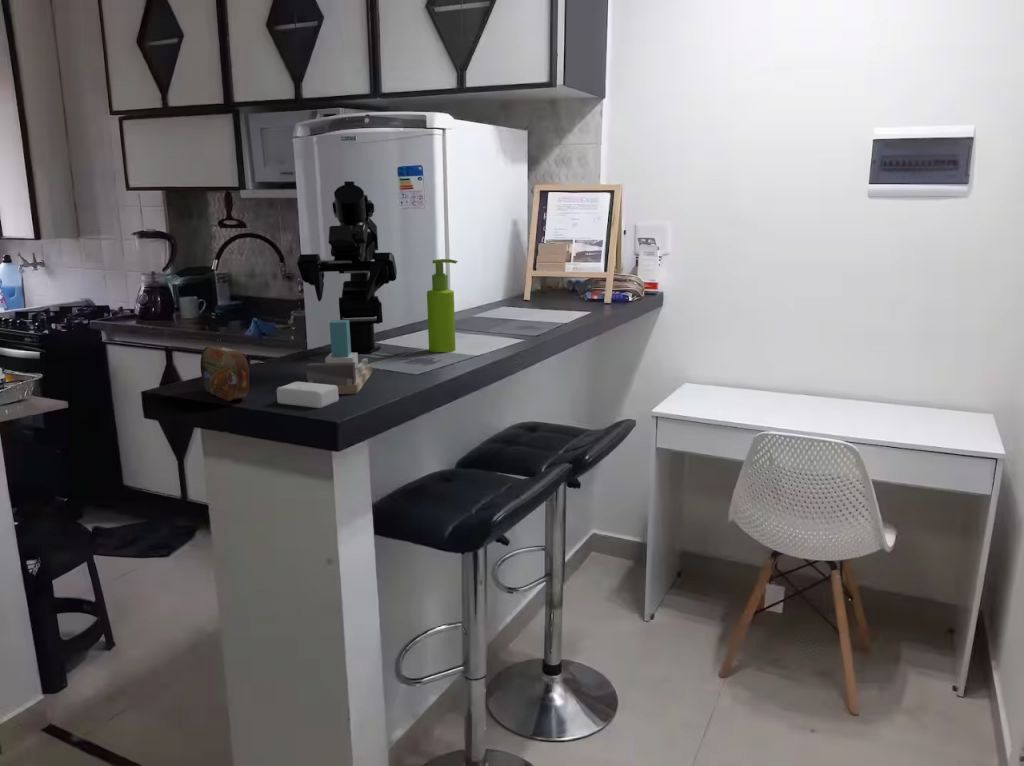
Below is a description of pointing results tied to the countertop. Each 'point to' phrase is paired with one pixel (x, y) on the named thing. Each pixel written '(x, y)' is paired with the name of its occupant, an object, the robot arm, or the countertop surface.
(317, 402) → the soap
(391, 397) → the countertop surface
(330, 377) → the guide rail
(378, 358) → the countertop surface
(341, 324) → the sliding block
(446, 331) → the soap dispenser
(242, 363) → the tin
